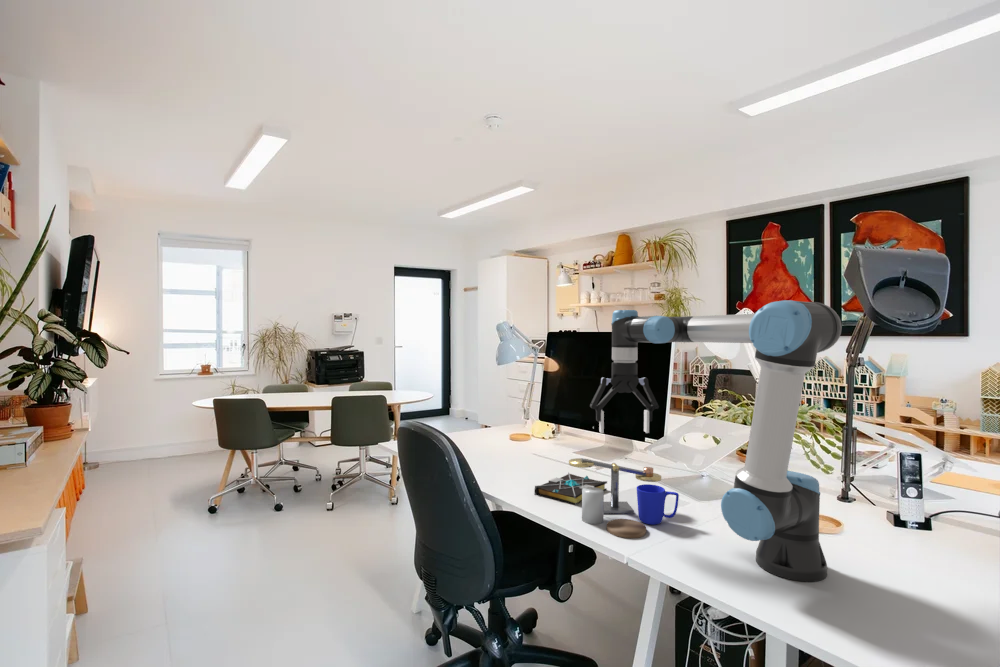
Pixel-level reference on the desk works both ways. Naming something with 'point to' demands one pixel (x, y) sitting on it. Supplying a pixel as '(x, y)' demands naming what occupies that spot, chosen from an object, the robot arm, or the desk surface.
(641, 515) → the mug
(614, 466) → the balance
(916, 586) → the desk surface
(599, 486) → the book
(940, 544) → the desk surface
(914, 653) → the desk surface
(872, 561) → the desk surface
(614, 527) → the dish
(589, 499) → the white cylinder
